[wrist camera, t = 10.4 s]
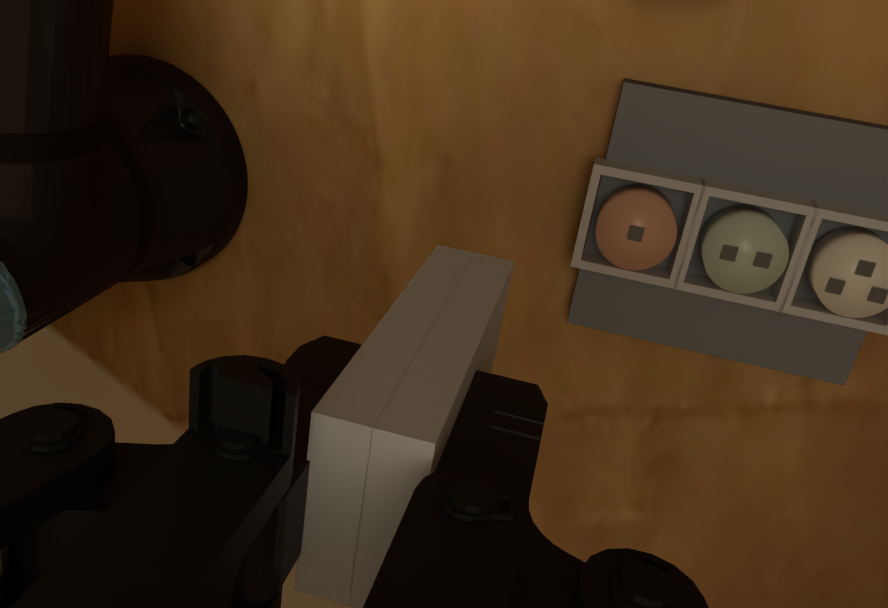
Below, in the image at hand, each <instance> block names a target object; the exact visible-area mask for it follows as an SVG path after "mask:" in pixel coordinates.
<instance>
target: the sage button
mask: <svg viewBox="0 0 888 608" xmlns="http://www.w3.org/2000/svg"><path fill="white" fill-rule="evenodd" d="M700 251H701V255H702V259H703V263H704V267H705V270H706V272H707V274H708V276H709V277H710V278H711V280H712V281H713V282H714V283H715V284H716V285H718V286H719V287H721V288H723V289H724V290H727V291H730V292H733V293H741V294H746V293H753V292H757V291H761V290H763V289H765V288H767V287H769V286H770V285H772V284H773V283H774V282H775V281H776V280H777V279H778V278H779V277H780V276H781V275H782V273H783V272H784V270H785V268H786V266H787V263H788V258H789V248H788V243H787V240H786V238H785V236H784V234H783V233H782V231H781V229H780V228H779V226H778V225H777V223H776V222H775V220H774V219H773V218H772V217H771V216H770V215H769V214H768V213H767V212H765V211H763V210H762V209H759V208H757V207H753V206H748V205H738V206H732V207H729V208H726V209H724V210H722V211H720V212H718V213H717V214H715V215H714V216H713V217H712V218H711V219H710V220H709V221H708V222H707V224H706V225H705V227H704V229H703V231H702V234H701V237H700Z"/></svg>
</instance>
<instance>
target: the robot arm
mask: <svg viewBox="0 0 888 608" xmlns="http://www.w3.org/2000/svg"><path fill="white" fill-rule="evenodd" d="M113 2H114V0H0V353H3V352H5V351H6V350H10V349H12V348H13V347H14V346H15V345H17V344H18V343H20V342H21V341H22V340H24V339H26V338H27V337H29V336H30V335H32V334H34V333H36V332H37V331H39V330H41V329H42V328H44V327H46V326H47V325H49V324H51V323H52V322H54V321H56V320H57V319H59V318H61V317H62V316H64V315H65V314H67V313H69V312H70V311H72V310H74V309H75V308H77V307H79V306H80V305H82V304H84V303H85V302H87V301H89V300H90V299H92V298H94V297H95V296H97V295H99V294H100V293H102V292H103V291H105V290H107V289H108V288H110V287H112V286H113V285H115V284H117V283H121V282H137V281H153V280H164V279H169V278H173V277H177V276H180V275H183V274H185V273H188V272H190V271H192V270H194V269H195V268H197V267H198V266H200V265H202V264H203V263H205V262H206V261H208V260H210V259H211V258H213V257H214V256H215V255H217V254H218V253H219V252H220V251H221V250H222V249H223V248H224V247H225V246H226V245H227V244H228V242H229V241H230V240H231V238H232V237H233V235H234V234H235V232H236V230H237V228H238V226H239V224H240V221H241V219H242V215H243V212H244V208H245V203H246V196H247V173H246V165H245V160H244V155H243V152H242V148H241V145H240V142H239V139H238V137H237V135H236V132H235V130H234V128H233V126H232V124H231V122H230V120H229V119H228V117H227V115H226V114H225V112H224V111H223V109H222V108H221V106H220V105H219V104H218V102H217V101H216V100H215V99H214V98H213V96H212V95H211V94H210V93H209V92H208V91H207V90H206V89H205V88H204V87H203V86H202V85H201V84H200V83H198V82H197V81H196V80H195V79H193V78H192V77H191V76H189V75H188V74H186V73H185V72H183V71H182V70H180V69H178V68H177V67H175V66H173V65H171V64H169V63H166V62H164V61H161V60H158V59H155V58H151V57H147V56H141V55H131V54H127V55H114V56H109V46H110V35H111V24H112V13H113ZM513 264H514V261H510V260H505V259H501V258H496V257H492V256H487V255H483V254H478V253H474V252H469V251H464V250H460V249H455V248H451V247H446V246H442V245H437V247H436V248H435V249H434V251H433V252H432V253H431V255H430V256H429V257H428V258H427V260H426V261H425V262H424V264H423V265H422V266H421V268H420V269H419V270H418V272H417V273H416V274H415V276H414V277H413V278H412V280H411V281H410V282H409V284H408V285H407V286H406V288H405V289H404V290H403V292H402V293H401V294H400V296H399V297H398V298H397V299H396V301H395V302H394V303H393V305H392V306H391V307H390V309H389V310H388V311H387V313H386V314H385V315H384V317H383V318H382V319H381V321H380V322H379V323H378V325H377V326H376V327H375V329H374V330H373V331H372V333H371V334H370V335H369V337H368V338H367V339H366V341H365V342H364V343H363V344H362V345H361V344H357V343H353V342H349V341H345V340H341V339H337V338H332V337H328V336H322V337H320V338H317V339H315V340H313V341H310V342H308V343H306V344H303V345H301V346H300V347H299V348H298V349H297V350H296V351H295V352H294V353H293V354H292V355H291V356H290V357H289V358H288V359H287V361H286V363H285V364H281V363H278V362H275V361H273V360H270V359H267V358H262V357H255V356H248V355H238V356H223V357H219V358H215V359H211V360H207V361H204V362H202V363H200V364H198V365H197V366H195V367H193V368H191V369H190V393H189V429H188V430H187V431H186V432H185V433H184V434H183V435H182V436H181V437H180V438H179V439H178V440H177V441H176V442H175V443H174V444H160V445H155V444H154V445H153V444H133V443H116V442H115V430H114V427H113V424H112V420H111V418H109V417H108V416H107V415H105V414H104V413H103V412H101V411H100V410H98V409H95V408H92V407H89V406H85V405H82V404H72V403H53V404H47V405H39V406H33V407H30V408H27V409H24V410H21V411H19V412H16V413H13V414H10V415H8V416H6V417H4V418H2V419H0V608H280V606H281V597H282V585H283V583H284V581H285V579H286V578H287V576H288V574H289V572H290V571H291V569H292V567H293V566H294V564H295V562H296V561H297V566H296V576H295V587H294V590H297V591H300V592H304V593H307V594H311V595H314V596H317V597H321V598H324V599H327V600H331V601H334V602H338V603H341V604H344V605H348V606H351V607H355V608H709V607H708V605H707V603H706V600H705V599H704V597H703V595H702V594H701V592H700V591H699V589H698V588H697V586H696V585H695V583H694V582H693V581H692V580H691V579H690V578H689V577H687V576H686V575H685V574H684V573H683V572H682V571H680V570H679V569H678V568H677V567H676V566H674V565H673V564H671V563H669V562H667V561H665V560H663V559H661V558H659V557H657V556H655V555H653V554H650V553H645V552H641V551H637V550H633V549H629V548H625V549H606V550H604V551H601V552H599V553H597V554H594V555H592V556H590V558H589V559H588V560H587V562H586V563H585V562H583V561H581V560H580V559H578V558H576V557H574V556H572V555H570V554H568V553H567V552H565V551H563V550H562V549H560V548H559V547H557V546H556V545H554V544H553V543H552V542H551V541H549V540H548V539H547V538H546V537H545V536H544V535H543V534H542V533H541V532H540V531H539V529H538V528H537V526H536V525H535V524H534V522H533V520H532V517H531V515H530V512H529V496H530V491H531V486H532V481H533V476H534V471H535V466H536V461H537V456H538V451H539V446H540V441H541V436H542V431H543V426H544V421H545V416H546V411H547V406H548V403H547V401H546V400H545V398H544V396H543V394H542V392H541V390H540V388H539V386H538V385H536V384H532V383H528V382H524V381H520V380H515V379H511V378H507V377H503V376H499V375H495V374H491V373H492V368H493V363H494V358H495V353H496V349H497V344H498V339H499V334H500V329H501V324H502V319H503V314H504V309H505V304H506V299H507V294H508V289H509V284H510V279H511V274H512V269H513Z"/></svg>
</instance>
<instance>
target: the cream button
mask: <svg viewBox="0 0 888 608" xmlns="http://www.w3.org/2000/svg"><path fill="white" fill-rule="evenodd" d="M806 273H807V278H808V280H809V282H810V284H811V286H812V288H813V289H814V291H815V292H816V294H817V296H818V297H819V299H820V301H821V302H822V303H823V304H824V306H825V307H826V308H828V309H829V310H830V311H832V312H834V313H836V314H838V315H841V316H844V317H850V318H863V317H868V316H872V315H875V314H877V313H880V312H881V311H883V310H885V309H886V308H888V244H887V243H886V242H885V241H884V240H883V239H882V238H881V237H880V236H879V235H877V234H876V233H874V232H872V231H870V230H867V229H864V228H857V227H849V228H843V229H839V230H836V231H833V232H831V233H829V234H827V235H826V236H824V237H823V238H821V239H820V240H819V241H818V242H817V243H816V244H815V245H814V247H813V248H812V250H811V251H810V253H809V256H808V259H807V262H806Z"/></svg>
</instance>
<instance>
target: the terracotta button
mask: <svg viewBox="0 0 888 608" xmlns="http://www.w3.org/2000/svg"><path fill="white" fill-rule="evenodd" d="M676 237H677V226H676V221H675V215H674V211H673V208H672V205H671V203H670V201H669V200H668V199H667V197H666V196H665V195H664V194H663V193H662V192H660V191H659V190H657V189H655V188H653V187H651V186H648V185H643V184H631V185H626V186H623V187H620V188H618V189H617V190H615V191H613V192H612V193H611V194H610V195H609V196H608V197H607V198H606V199H605V200H604V202H603V203H602V205H601V207H600V210H599V213H598V218H597V225H596V241H597V245H598V247H599V249H600V251H601V253H602V254H603V255H604V257H605V258H606V259H607V260H608V261H610V262H611V263H612V264H614V265H616V266H618V267H620V268H623V269H627V270H644V269H648V268H651V267H653V266H655V265H657V264H659V263H660V262H662V261H663V260H664V259H665V258H666V257H667V256H668V255H669V253H670V252H671V251H672V249H673V247H674V244H675V241H676Z"/></svg>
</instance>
